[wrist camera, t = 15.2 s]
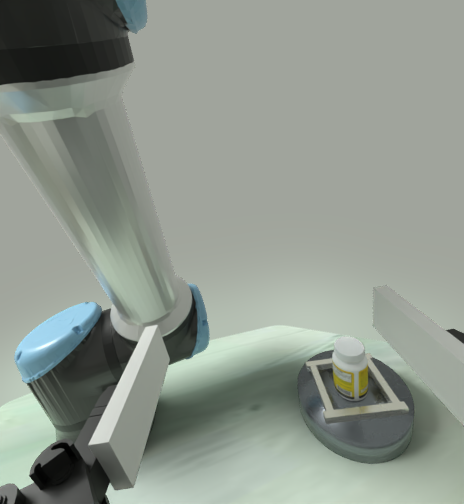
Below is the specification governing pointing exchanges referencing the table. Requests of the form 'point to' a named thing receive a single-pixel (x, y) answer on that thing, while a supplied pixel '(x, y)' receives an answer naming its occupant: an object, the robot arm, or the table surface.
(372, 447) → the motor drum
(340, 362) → the supplement bottle
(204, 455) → the table surface
